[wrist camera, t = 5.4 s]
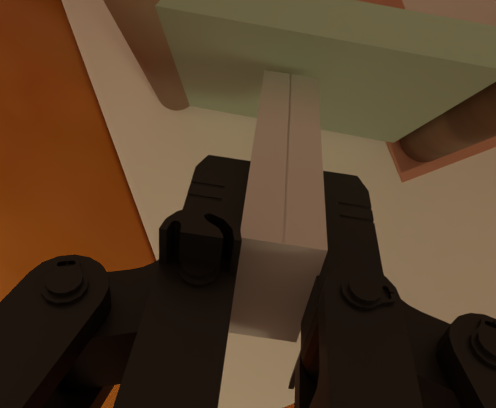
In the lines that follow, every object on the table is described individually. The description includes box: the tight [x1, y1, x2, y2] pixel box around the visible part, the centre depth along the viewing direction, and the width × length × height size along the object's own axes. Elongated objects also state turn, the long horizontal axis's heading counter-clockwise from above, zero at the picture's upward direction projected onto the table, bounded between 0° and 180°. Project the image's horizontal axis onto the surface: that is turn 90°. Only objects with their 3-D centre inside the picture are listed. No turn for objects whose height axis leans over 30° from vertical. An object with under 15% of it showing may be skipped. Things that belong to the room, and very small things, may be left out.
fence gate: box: [103, 0, 496, 143], centre depth 15 cm, size 10×2×8 cm, turn 80°
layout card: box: [61, 0, 496, 408], centre depth 19 cm, size 25×22×1 cm
